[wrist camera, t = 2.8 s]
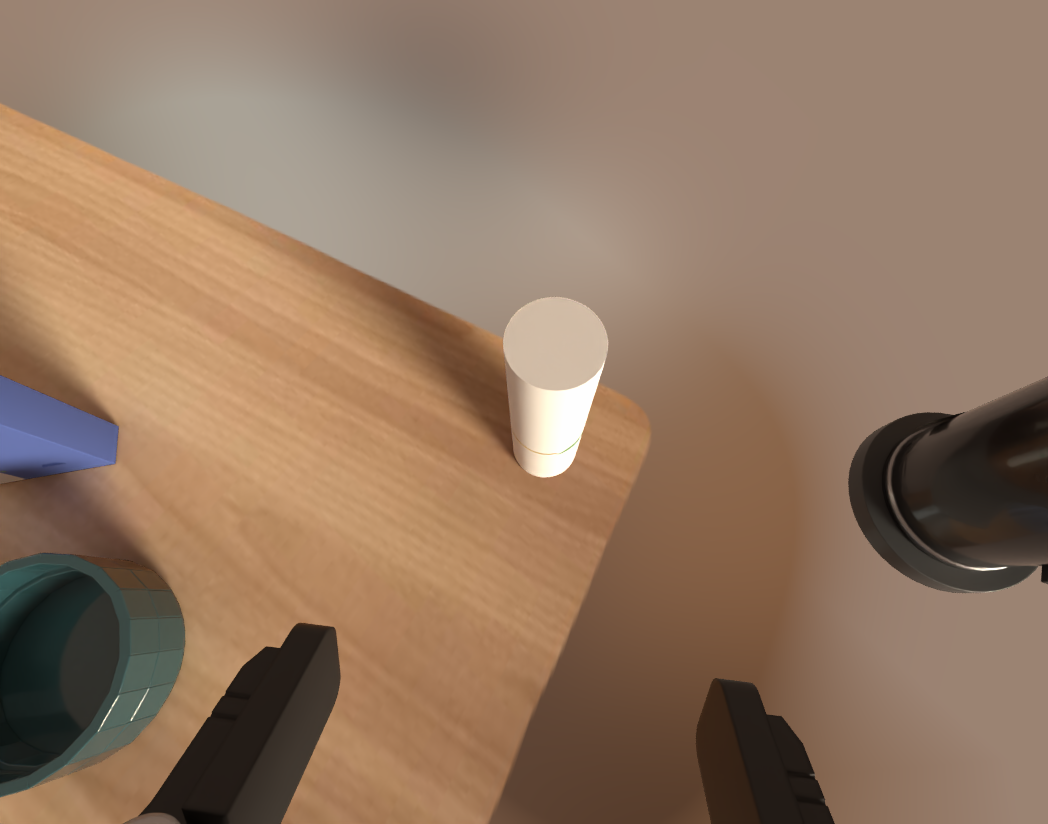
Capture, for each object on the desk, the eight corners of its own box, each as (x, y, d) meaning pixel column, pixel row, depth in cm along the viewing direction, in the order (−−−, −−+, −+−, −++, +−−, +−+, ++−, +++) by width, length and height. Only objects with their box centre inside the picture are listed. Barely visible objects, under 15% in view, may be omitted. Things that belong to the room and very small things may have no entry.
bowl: (225, 600, 32) (173, 600, 27) (115, 803, 29) (33, 842, 24) (76, 534, 34) (3, 522, 29) (-47, 719, 30) (-153, 740, 25)
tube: (519, 482, 34) (513, 399, 20) (508, 422, 36) (495, 306, 22) (582, 470, 35) (619, 380, 21) (568, 411, 36) (594, 289, 22)
